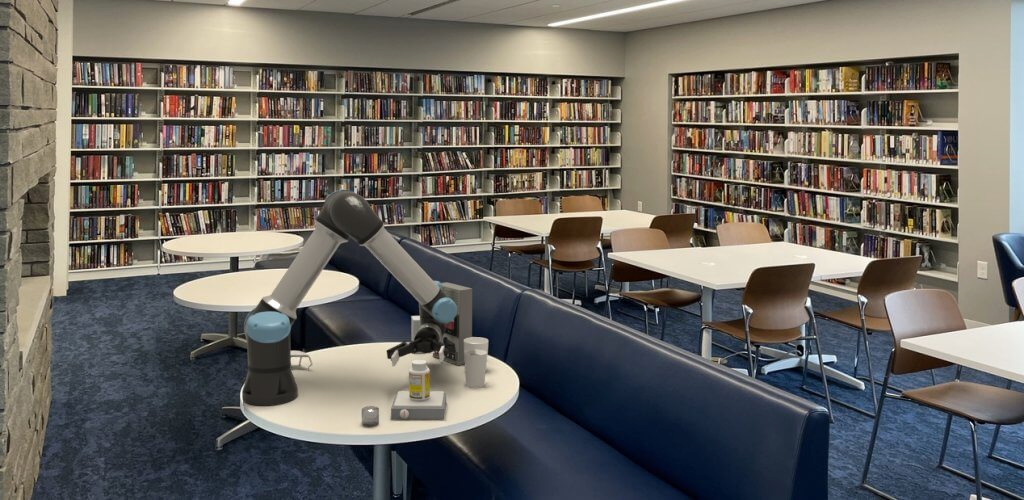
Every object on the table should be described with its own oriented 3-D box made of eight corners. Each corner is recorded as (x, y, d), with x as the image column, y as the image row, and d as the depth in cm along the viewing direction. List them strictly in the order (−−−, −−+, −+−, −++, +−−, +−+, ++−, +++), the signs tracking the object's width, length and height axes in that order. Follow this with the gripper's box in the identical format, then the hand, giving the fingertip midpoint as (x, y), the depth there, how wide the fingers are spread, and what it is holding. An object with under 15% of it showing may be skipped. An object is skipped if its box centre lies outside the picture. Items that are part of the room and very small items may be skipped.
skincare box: (411, 349, 275) (411, 315, 273) (423, 348, 276) (423, 315, 274) (413, 354, 269) (413, 319, 267) (425, 353, 270) (425, 319, 268)
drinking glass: (471, 389, 233) (471, 356, 232) (460, 383, 239) (460, 351, 237) (490, 385, 237) (490, 353, 235) (478, 379, 242) (479, 348, 241)
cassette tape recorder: (432, 356, 266) (432, 284, 263) (446, 353, 270) (447, 282, 267) (457, 366, 256) (458, 290, 252) (472, 362, 260) (472, 288, 256)
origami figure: (273, 370, 248) (273, 355, 248) (287, 363, 256) (287, 348, 256) (308, 374, 246) (308, 358, 245) (321, 366, 254) (320, 351, 253)
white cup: (484, 375, 247) (485, 344, 246) (460, 373, 249) (460, 342, 247) (490, 368, 255) (490, 338, 253) (466, 366, 256) (467, 336, 255)
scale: (390, 420, 207) (390, 406, 207) (396, 402, 221) (396, 390, 220) (444, 420, 208) (444, 407, 207) (446, 402, 221) (446, 390, 221)
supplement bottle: (426, 393, 218) (426, 357, 216) (432, 400, 213) (432, 363, 211) (406, 396, 215) (406, 360, 214) (412, 402, 210) (412, 365, 209)
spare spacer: (360, 426, 202) (360, 412, 202) (363, 420, 207) (363, 406, 206) (377, 427, 203) (377, 412, 202) (380, 420, 207) (379, 406, 206)
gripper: (469, 346, 243) (462, 368, 222) (389, 353, 244) (375, 376, 223) (466, 322, 241) (459, 342, 220) (386, 330, 243) (371, 350, 222)
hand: (416, 359), depth 222 cm, fingers open, 13 cm apart
